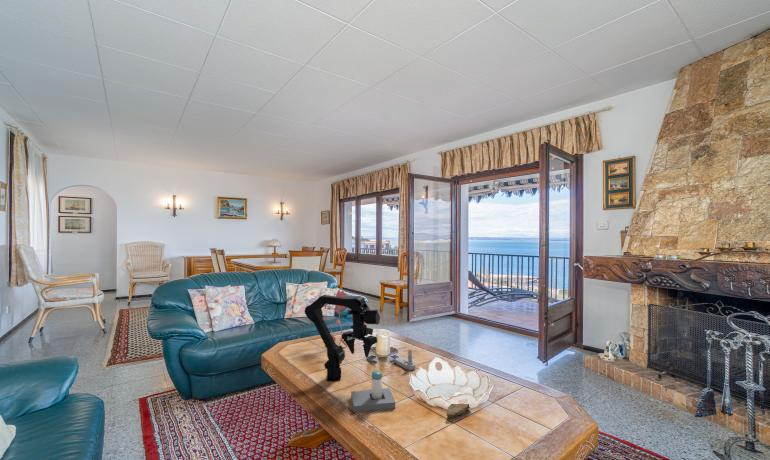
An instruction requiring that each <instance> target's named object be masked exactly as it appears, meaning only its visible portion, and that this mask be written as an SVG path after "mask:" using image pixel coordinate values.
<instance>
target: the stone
mask: <svg viewBox="0 0 770 460" xmlns="http://www.w3.org/2000/svg"><path fill="white" fill-rule="evenodd" d="M470 408H471V407H469V404H451V405H450V406H449V405H448V407H447V410H446V417H447V418H448V419H449V421H452V420H454V419H455V418H457V416H459V415H461V416H463V415H465V413H466V412H467V410H469V409H470Z"/></svg>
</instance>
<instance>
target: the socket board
mask: <svg viewBox="0 0 770 460" xmlns="http://www.w3.org/2000/svg"><path fill="white" fill-rule="evenodd" d="M350 393H351V394H350V395H351V396H350V397H351V402H352V408H353V412H354V413H360V412H361V413H363V412H372V411H373V412H374V411H383V410H392V409H396V401H395V398H394V396H393V394H392V391H391V389H390V388H389V387H388V388H387V387H386V388H382V399H380V400H372V389H368V390H367V389H365V390H355V391H353V390H351V392H350Z"/></svg>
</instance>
